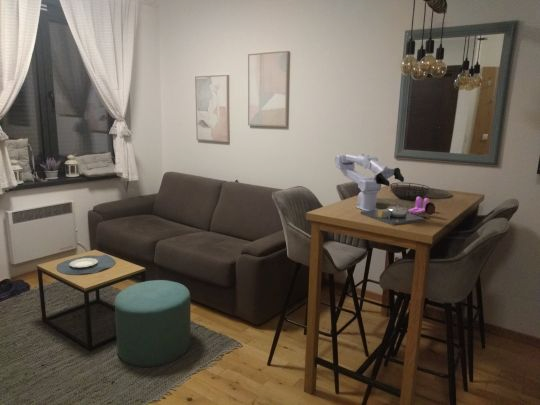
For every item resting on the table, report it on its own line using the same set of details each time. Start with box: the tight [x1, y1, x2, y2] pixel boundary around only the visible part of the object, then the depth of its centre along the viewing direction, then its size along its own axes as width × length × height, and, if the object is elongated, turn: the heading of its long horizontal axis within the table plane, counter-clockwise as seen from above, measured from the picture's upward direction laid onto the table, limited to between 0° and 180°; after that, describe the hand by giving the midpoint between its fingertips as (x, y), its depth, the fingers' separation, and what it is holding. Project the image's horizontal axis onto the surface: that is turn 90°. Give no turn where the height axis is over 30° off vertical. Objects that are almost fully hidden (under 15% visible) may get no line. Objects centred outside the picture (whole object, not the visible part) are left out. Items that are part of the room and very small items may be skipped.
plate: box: [360, 208, 426, 226], centre depth 197 cm, size 22×20×1 cm
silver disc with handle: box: [378, 204, 408, 217], centre depth 194 cm, size 15×9×4 cm, turn 117°
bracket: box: [407, 196, 430, 215], centre depth 210 cm, size 13×6×7 cm, turn 135°
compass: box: [415, 201, 436, 219], centre depth 198 cm, size 8×8×7 cm
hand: (396, 182), depth 190 cm, fingers open, 7 cm apart
